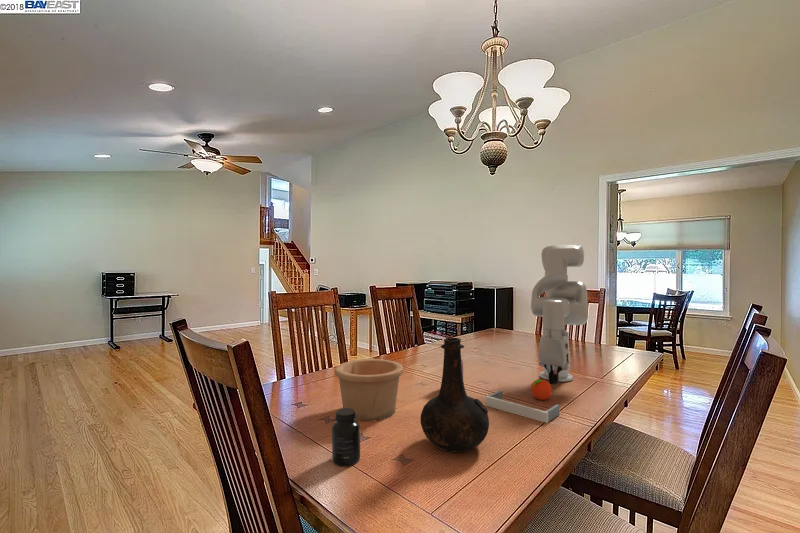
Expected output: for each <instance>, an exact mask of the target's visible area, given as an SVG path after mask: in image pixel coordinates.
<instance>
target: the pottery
mask: <svg viewBox="0 0 800 533" xmlns="http://www.w3.org/2000/svg"><path fill="white" fill-rule="evenodd" d="M403 373H404V366H403V364H401V363H399V362H397V361H393V360H390V359H389V360H387V359H381V358H380V359H379V358H367V359H366V358H364V359H356V360H350V361H346V362H343V363H340V364H338V365H336V367H335V368H334V375H335V376H336V377H337V378H338V383H339V389H340V397H341V402H342V403H341V404H342V409H343V408H351V409H354V410H355V416H356V421H358V420H363V421H362V422H374V421H373V420H377V421H381V420H385V419H387V417H388V418H390V417H392V416H393V415H394V414H395V413H396V407H397V400H398V399H397V397H398V391H399V390H398V389H399V383H400V377H401V375H403ZM389 416H390V417H389ZM384 418H385V419H384ZM380 419H381V420H380Z"/></svg>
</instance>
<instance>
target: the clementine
mask: <svg viewBox="0 0 800 533" xmlns="http://www.w3.org/2000/svg"><path fill="white" fill-rule="evenodd" d="M530 391H531V394H532V395H533V396H534V398H536V399H538V400H541V401H544V400H547V399H549V398H550V397H551V395H552V393H553V388H552V384H550V381H548V380H546V379H543V378H538V379H535V380H534V381H533V382H532V384H531V386H530Z"/></svg>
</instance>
